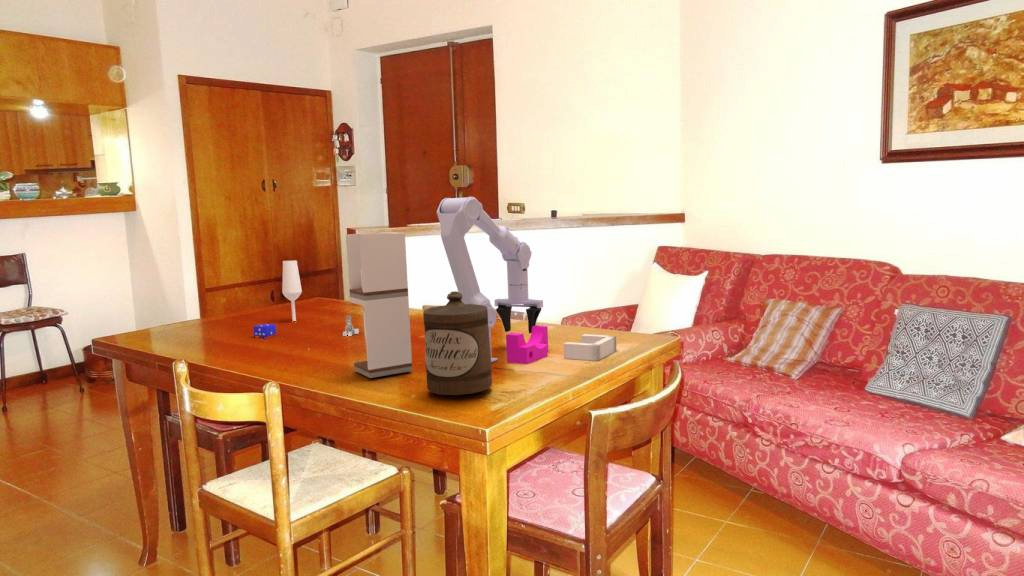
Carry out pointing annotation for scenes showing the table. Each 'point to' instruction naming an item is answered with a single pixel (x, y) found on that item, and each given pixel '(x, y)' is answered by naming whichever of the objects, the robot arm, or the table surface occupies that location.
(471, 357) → the wooden container
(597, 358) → the block holder
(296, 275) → the champagne flute
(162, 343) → the table surface
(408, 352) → the grey stacked tower
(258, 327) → the die
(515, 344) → the toy block
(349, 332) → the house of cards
